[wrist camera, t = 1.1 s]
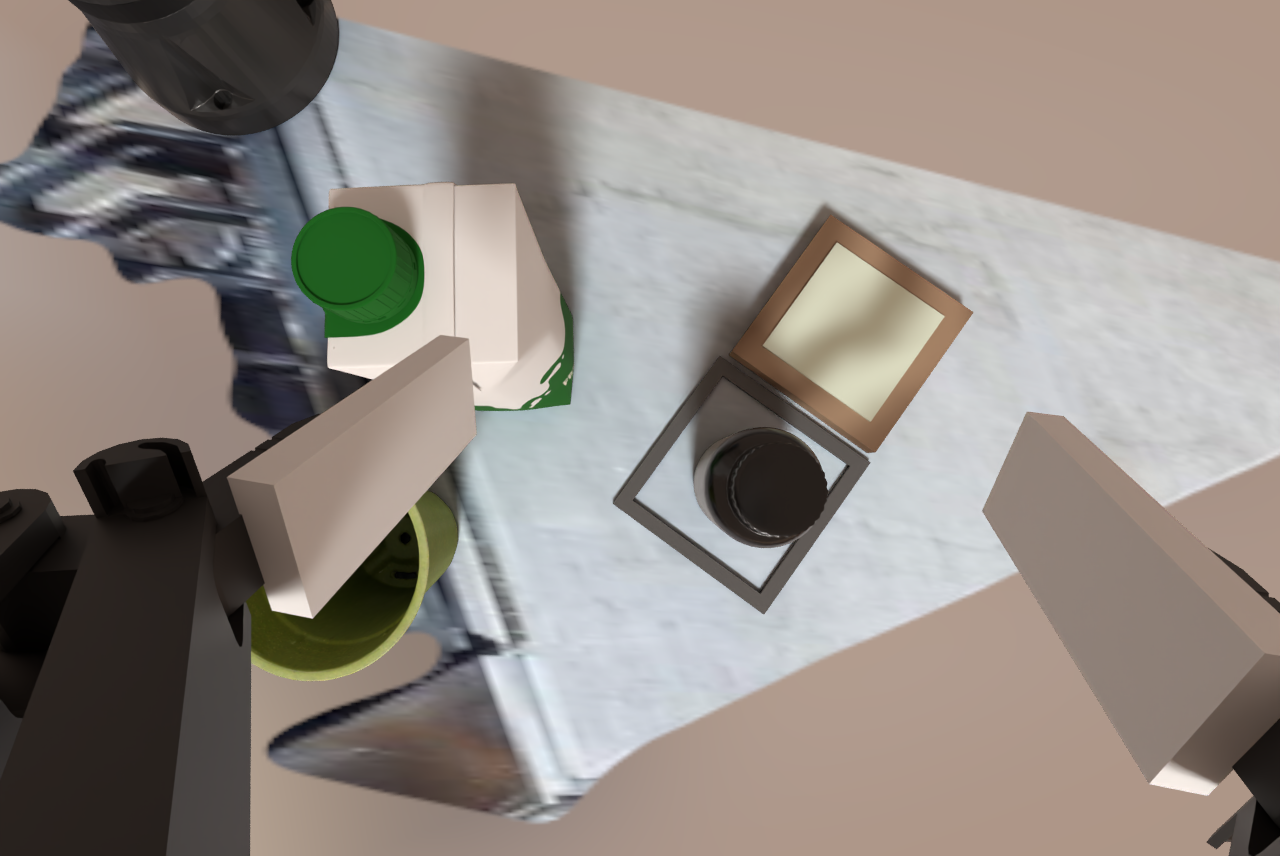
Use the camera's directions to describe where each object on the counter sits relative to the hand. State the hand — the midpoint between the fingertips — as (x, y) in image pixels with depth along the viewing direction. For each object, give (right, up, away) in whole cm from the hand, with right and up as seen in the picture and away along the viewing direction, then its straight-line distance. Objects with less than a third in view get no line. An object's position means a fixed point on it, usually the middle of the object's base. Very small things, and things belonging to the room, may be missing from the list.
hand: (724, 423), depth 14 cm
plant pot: (-19, -8, +27) cm, 33 cm away
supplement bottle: (+5, -4, +26) cm, 27 cm away
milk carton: (-11, +5, +27) cm, 30 cm away
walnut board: (+13, +6, +27) cm, 30 cm away
